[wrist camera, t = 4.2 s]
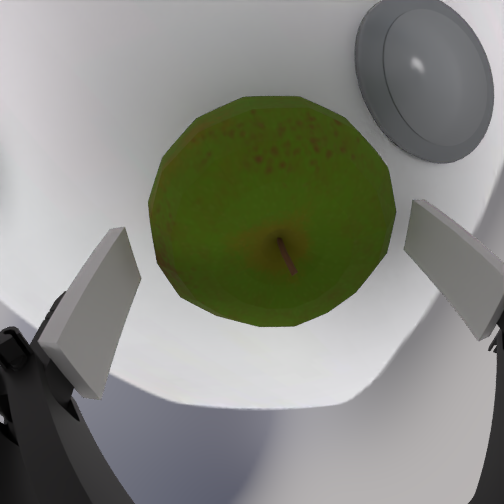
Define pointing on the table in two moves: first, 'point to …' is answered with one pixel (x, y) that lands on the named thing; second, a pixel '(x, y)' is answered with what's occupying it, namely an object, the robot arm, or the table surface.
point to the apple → (270, 211)
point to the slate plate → (424, 78)
